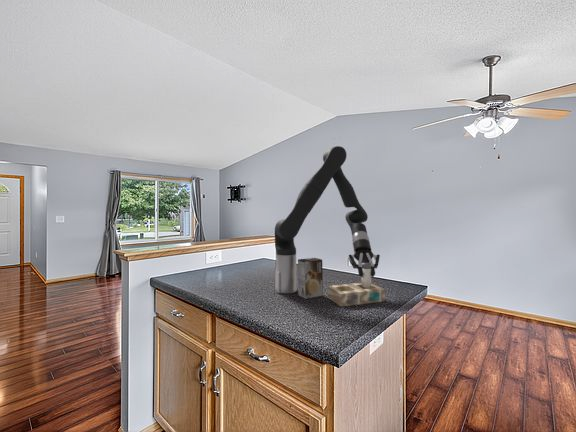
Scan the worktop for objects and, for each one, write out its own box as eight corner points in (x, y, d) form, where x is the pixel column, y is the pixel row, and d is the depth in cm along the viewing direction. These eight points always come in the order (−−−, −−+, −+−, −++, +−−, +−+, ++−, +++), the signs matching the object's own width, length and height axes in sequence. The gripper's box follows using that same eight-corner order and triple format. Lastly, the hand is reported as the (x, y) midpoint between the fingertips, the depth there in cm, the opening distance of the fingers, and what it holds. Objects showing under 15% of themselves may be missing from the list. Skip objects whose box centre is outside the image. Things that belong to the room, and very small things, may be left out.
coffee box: (315, 292, 131) (315, 257, 131) (323, 295, 126) (323, 259, 125) (297, 295, 127) (297, 259, 127) (305, 299, 121) (305, 261, 121)
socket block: (341, 306, 112) (341, 294, 111) (327, 297, 123) (327, 285, 123) (385, 301, 118) (385, 289, 117) (368, 293, 129) (368, 282, 129)
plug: (364, 288, 120) (364, 264, 119) (359, 285, 123) (359, 262, 123) (373, 287, 121) (373, 263, 120) (367, 284, 125) (367, 262, 124)
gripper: (346, 238, 129) (351, 271, 117) (378, 238, 129) (386, 271, 117) (344, 248, 135) (349, 280, 123) (375, 248, 134) (383, 280, 122)
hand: (367, 275), depth 120 cm, fingers closed on plug, 4 cm apart
